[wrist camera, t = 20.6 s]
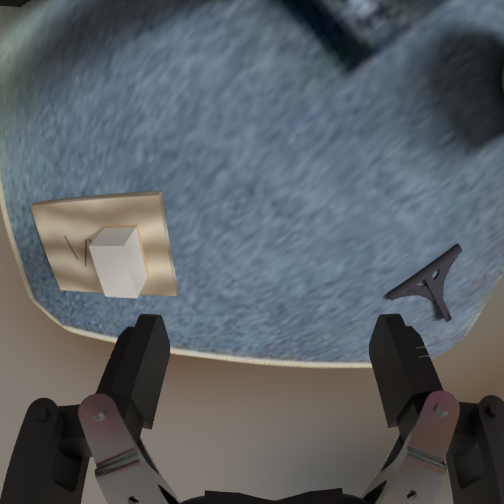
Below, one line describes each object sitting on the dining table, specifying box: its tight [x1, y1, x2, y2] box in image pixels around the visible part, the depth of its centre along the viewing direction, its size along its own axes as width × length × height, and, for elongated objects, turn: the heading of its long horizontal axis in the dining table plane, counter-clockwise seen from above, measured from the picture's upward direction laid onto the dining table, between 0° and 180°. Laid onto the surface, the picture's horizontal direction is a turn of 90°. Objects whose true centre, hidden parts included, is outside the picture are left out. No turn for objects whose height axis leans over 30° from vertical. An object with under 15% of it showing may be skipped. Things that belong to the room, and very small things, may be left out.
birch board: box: [31, 191, 178, 296], centre depth 42 cm, size 16×22×2 cm
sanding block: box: [89, 225, 149, 298], centre depth 39 cm, size 8×5×6 cm, turn 1°
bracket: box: [387, 244, 462, 322], centre depth 45 cm, size 14×15×3 cm
